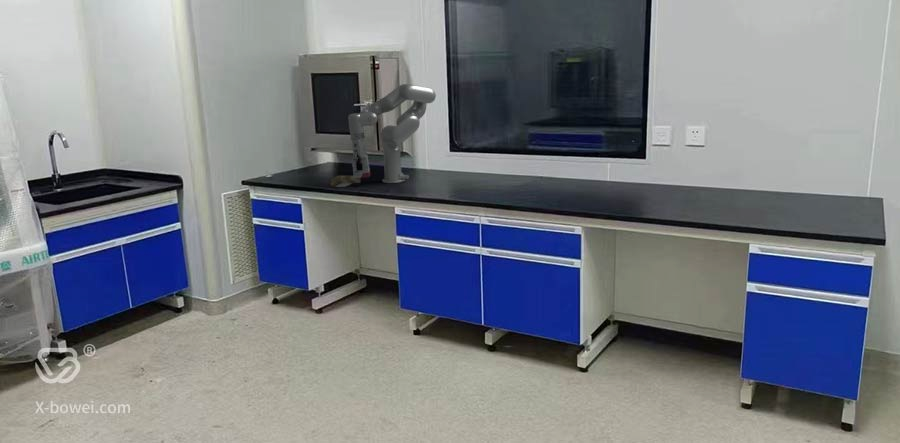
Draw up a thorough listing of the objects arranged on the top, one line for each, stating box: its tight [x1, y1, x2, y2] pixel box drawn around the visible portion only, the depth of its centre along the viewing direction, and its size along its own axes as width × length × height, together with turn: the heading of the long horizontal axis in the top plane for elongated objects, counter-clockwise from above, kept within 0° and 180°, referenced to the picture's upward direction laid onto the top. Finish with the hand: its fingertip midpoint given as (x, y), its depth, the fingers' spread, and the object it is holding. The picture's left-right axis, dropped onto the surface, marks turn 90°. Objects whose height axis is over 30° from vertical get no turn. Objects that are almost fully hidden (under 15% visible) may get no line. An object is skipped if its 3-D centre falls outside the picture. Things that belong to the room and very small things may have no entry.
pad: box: [334, 183, 353, 188], centre depth 374 cm, size 6×10×1 cm, turn 169°
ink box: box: [351, 154, 371, 179], centre depth 368 cm, size 9×5×12 cm, turn 84°
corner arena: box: [330, 175, 361, 187], centre depth 375 cm, size 13×12×4 cm
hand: (361, 168), depth 368 cm, fingers closed on ink box, 5 cm apart
